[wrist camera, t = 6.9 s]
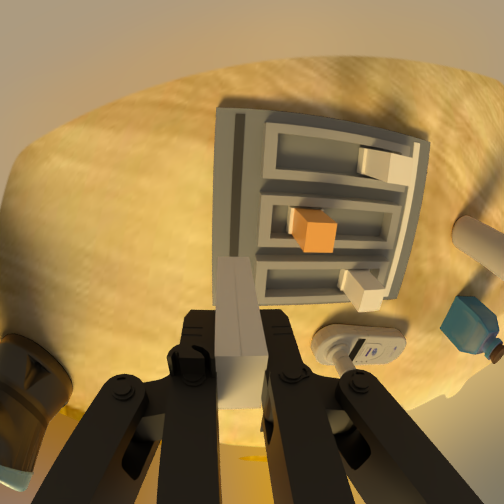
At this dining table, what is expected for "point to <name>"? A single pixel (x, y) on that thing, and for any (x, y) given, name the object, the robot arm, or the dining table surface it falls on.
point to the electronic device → (356, 346)
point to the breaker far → (361, 289)
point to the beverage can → (480, 243)
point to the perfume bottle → (473, 328)
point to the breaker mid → (311, 228)
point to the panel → (310, 202)
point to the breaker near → (385, 166)
